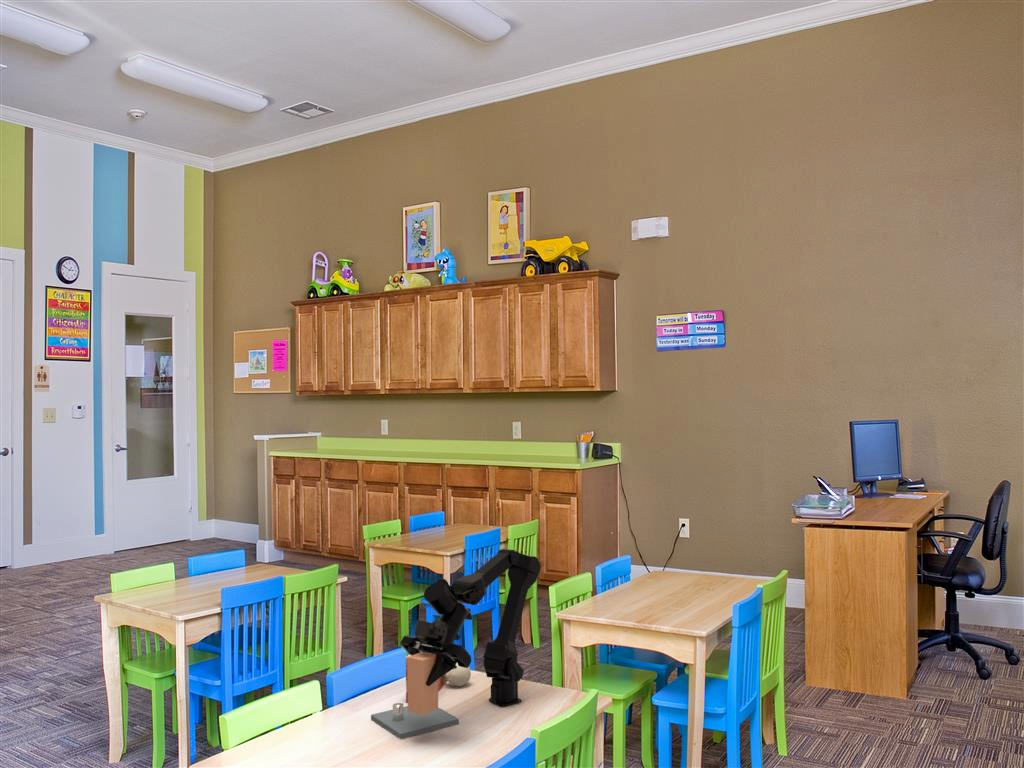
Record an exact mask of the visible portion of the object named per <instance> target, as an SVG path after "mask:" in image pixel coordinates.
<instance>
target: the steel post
mask: <svg viewBox="0 0 1024 768" xmlns="http://www.w3.org/2000/svg"><path fill="white" fill-rule="evenodd" d="M403 707H404V703H401V702H395V703H393V704H392V710H393V720H394V721H401V720H403V719H404V713H403Z"/></svg>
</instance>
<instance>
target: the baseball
mask: <svg viewBox="0 0 1024 768" xmlns="http://www.w3.org/2000/svg"><path fill="white" fill-rule="evenodd" d="M456 666H457V668H456V669H452V670H451V671H449V672H448V673H446V674H445V677H446V680H447V682H448V683H449V684H450V685H452V686H453V687H463V686H465V685H467V684H468V682H470V680H471V675H472V673H471V672H472V671H471V667H470V666H469V667H468V668H464V667H459V666H458V663H456Z"/></svg>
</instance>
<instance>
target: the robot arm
mask: <svg viewBox="0 0 1024 768" xmlns="http://www.w3.org/2000/svg"><path fill="white" fill-rule="evenodd" d="M541 566H542V565H541V563H540V561H539V559H538V558H537V556H534V555H526V554H523V553H521V552H519V551H517V550H515V549H508V548H501V549H499V550H498V551H497V552H496V554H495V555H494V556H493V557H492V558H490V559H489V560H487V562H486V563H484V564H483V565H482V566H480V567H479V568H478V569H477V570H476V571H475V572H473V573H471V574H466V575H463V576H460V577H459V578H457V579H456V580H454V581H453V583H452V584H451V585H450V584H449V582H448V580H447V579H445V578H440V577H439V578H438V580H437V581H435V582H433V583H431V584H430V585H428V587H426V588H425V590H424V592H423V598H424V599H425V601H426V602H427V604H429V605H430V606H431V608H432V609H433V610H434V611H435V613H436V614H438V615H440V616H439V618H438V620H434V621H432V622H429V621H423V620H416V624H415V626H414V628H415V629H414V631H413V634H414V635H419V636H422V638H421V639H422V640H423V641H424V642H425V643H424V642H423V641H422V640H421V639H420V638H419V637H418V636H414V635H409V634H407V635H404V636H403V637H402V639H401V641H400V642H399V645H401V647H402V648H403V649H404V650H405V651H406V652H407V653H408V655H409V654H410V655H411V656H412V655H415V654H417V653H420V652H424V653H430V654H435V655H436V662H435V664H434V666H433V668H432V670H431V672H430V674H429V676H428V679H427V682H426V685H427V686H430V685H431V684H433V683H434V682H435V681H437V680H438V679H439V678H440V677H442V676H443V675H445V674H446V673H448V672H449V671H451V670H452V669H456V668H457V666H456V663H458V666H459V667H464V668H468V667H469V668H470V664H471V663H472V655H471V654H470V653H469V652H468V651H467V650H466V648H465V647H464V646H463V645H461V644H456V643H454V642H455V641H459V640H460V639H461V636H460V634H459V632H460V630H461V628H462V626H463V625H464V623H465V621H466V620H468V621H469V620H470V621H471V620H473V614H472V613H471V608H467V607H466V606H465V605H464V604H466V605H470V606H471V605H472V606H476V605H477V604H479V603H480V601H482V600H483V598H484V597H485V595H486V594H487V588H488V587H489V586H490V585H491V584H492V583H494V582H495V581H496V580H497V579H498V578H499V577H500V576H502V575H503V574H504V573H505V572H506V571H507V577H508V581H509V589H508V593H507V597H506V601H505V605H504V609H503V612H502V616H501V620H500V624H499V628H498V632H497V635H496V637H495V638H494V640H493V641H488V642H487V643H486V648H485V651H484V654H483V656H482V657H483V666H484V671H485V674H486V677H487V678H491V685H490V697H489V698H488V701H489V702H491V703H493V704H495V705H497V706H499V707H506V706H509V705H514V704H517V703H521V702H522V698H520V697H519V691H518V690H519V684H518V682H520V681H521V679H523V678H524V677H523V676H524V671H525V670H524V669H523V667H522V666H521V665H520V664H519V663H518V656H519V655H518V650H517V645H516V638H517V634H518V631H519V627H520V622H521V619H522V615H523V611H524V607H525V603H526V599H527V595H528V591H529V589H531V587H532V586H533V585H534V584H536V582H537V579H538V577H539V574H540V571H541Z"/></svg>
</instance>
